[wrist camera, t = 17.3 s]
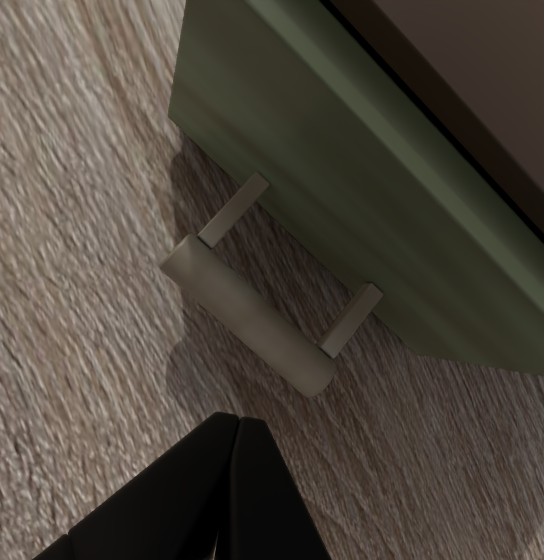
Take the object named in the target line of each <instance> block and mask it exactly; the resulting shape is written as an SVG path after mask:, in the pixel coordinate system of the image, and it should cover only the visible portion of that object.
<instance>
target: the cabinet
mask: <svg viewBox="0 0 544 560" xmlns="http://www.w3.org/2000/svg"><path fill="white" fill-rule="evenodd" d="M330 2H331V3H332V4H333V5H334V6H335V7H336V8H337V9H338V10H339V11H340V12H341V14H342V15H343V16H344V17H345V18H346V19H347V20H348V21H349V22H350V23H351V24H352V26H353V27H354V28H355V29H356V30H357V31H358V32H359V33H360V34H361V35H362V36H363V38H364V39H365V40H366V41H367V42H368V43H369V44H370V45H371V46H372V47H373V48H374V50H375V51H376V52H377V53H378V54H379V55H380V56H381V57H382V58H383V59H384V60H385V62H386V63H387V64H388V65H389V66H390V67H391V68H392V69H393V70H394V71H395V72H396V74H397V75H398V76H399V77H400V78H401V79H402V80H403V81H404V82H405V83H406V84H407V86H408V87H409V88H410V89H411V90H412V91H413V92H414V93H415V94H416V95H417V96H418V97H419V99H420V100H421V101H422V102H423V103H424V104H425V105H426V106H427V107H428V108H429V109H430V111H431V112H432V113H433V114H434V115H435V116H436V117H437V118H438V119H439V120H440V121H441V123H442V124H443V125H444V126H445V127H446V128H447V129H448V130H449V131H450V132H451V133H452V135H453V136H454V137H455V138H456V139H457V140H458V141H459V142H460V143H461V144H462V145H463V147H464V148H465V149H466V150H467V151H468V152H469V153H470V154H471V155H472V156H473V157H474V159H475V160H476V161H477V162H478V163H479V164H480V165H481V166H482V167H483V168H484V169H485V171H486V172H487V173H488V174H489V175H490V176H491V177H492V178H493V179H494V180H495V181H496V182H497V184H498V185H499V186H500V187H501V188H502V189H503V190H504V191H505V192H506V193H507V194H508V196H509V197H510V198H511V199H512V200H513V201H514V202H515V203H516V204H517V205H518V206H519V208H520V209H521V210H522V211H523V212H524V213H525V214H526V215H527V216H528V217H529V218H530V220H531V221H532V222H533V223H534V224H535V225H536V226H537V227H538V228H539V229H540V230H541V232H542V233H543V234H544V0H330Z"/></svg>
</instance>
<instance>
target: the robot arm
mask: <svg viewBox="0 0 544 560" xmlns="http://www.w3.org/2000/svg"><path fill="white" fill-rule="evenodd" d="M216 543H217V544H216ZM215 547H216V550H215ZM214 551H215V557H214V560H332V559H331V557H330V555H329V553H328V551H327V549H326V547H325V545H324V543H323V541H322V539H321V536H320V534H319V532H318V530H317V528H316V526H315V524H314V522H313V520H312V518H311V515H310V513H309V511H308V509H307V507H306V505H305V503H304V501H303V499H302V497H301V494H300V492H299V490H298V488H297V486H296V484H295V482H294V480H293V478H292V476H291V474H290V471H289V469H288V467H287V465H286V463H285V461H284V459H283V457H282V455H281V453H280V450H279V448H278V446H277V444H276V442H275V440H274V438H273V436H272V434H271V432H270V430H269V427H268V425H267V423H266V422H265V421H264V420H262V419H257V418H251V417H245V416H244V417H242V418H241V419H240V421H239V417H238V416H237V415H234V414H229V413H223V412H215V413H213V414H212V415H211V416H209V417H208V418H207V419H206V420H204V421H203V422H202V423H201V424H200V425H198V426H197V427H196V428H195V429H193V430H192V431H191V432H190V433H188V434H187V435H186V436H185V437H183V438H182V439H181V440H180V441H179V442H177V443H176V444H175V445H174V446H172V447H171V448H170V449H169V450H167V451H166V452H165V453H164V454H163V455H161V456H160V457H159V458H158V459H156V460H155V461H154V462H153V463H151V464H150V465H149V466H148V467H147V468H145V469H144V470H143V471H142V472H140V473H139V474H138V475H137V476H135V477H134V478H133V479H132V480H130V481H129V482H128V483H127V484H126V485H124V486H123V487H122V488H121V489H119V490H118V491H117V492H116V493H114V494H113V495H112V496H111V497H110V498H108V499H107V500H106V501H105V502H103V503H102V504H101V505H100V506H98V507H97V508H96V509H95V510H94V511H92V512H91V513H90V514H89V515H87V516H86V517H85V518H84V519H82V520H81V521H80V522H79V523H77V524H76V525H75V526H74V527H73V528H71V529H70V530H69V532H68V535H67V534H64V535H62V536H61V537H60V538H59V539H57V540H56V541H55V542H54V543H52V544H51V545H50V546H49V547H48V548H46V549H45V550H44V551H43V552H41V553H40V554H39V555H37V556H36V557H35V558H34V559H32V560H213V556H214Z"/></svg>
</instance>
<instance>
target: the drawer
mask: <svg viewBox="0 0 544 560" xmlns="http://www.w3.org/2000/svg"><path fill="white" fill-rule="evenodd" d="M168 117H169V118H170V119H171V120H172V121H173V122H174V123H175V124H176V125H177V126H178V127H179V128H180V129H181V130H182V131H183V132H184V133H185V134H186V135H187V136H188V137H189V138H191V139H192V140H193V141H194V142H195V143H196V144H197V145H198V146H199V147H200V148H201V149H202V150H203V151H204V152H205V153H206V154H207V155H208V156H209V157H210V158H211V159H213V160H214V161H215V162H216V163H217V164H218V165H219V166H220V167H221V168H222V169H223V170H224V171H225V172H226V173H227V174H228V175H229V176H230V177H231V178H232V179H234V180H235V181H236V182H237V183H238V184H239V185H240V186H241V188H240V189H239V190H238V191H237V192H236V193H235V195H234V196H233V197H232V198H231V199H230V200H229V201H228V202H227V203H226V204H225V205H224V206H223V207H222V209H221V210H220V211H219V212H218V213H217V214H216V215H215V216H214V217H213V218H212V219H211V220H210V222H209V223H208V224H207V225H206V226H205V227H204V228H203V229H202V230H201V231H200V232H199V233H198V235H197V236H195V235H194V234H193V233H189V234H188V235H187V236H186V237H185V238H184V239H183V240H182V241H181V242H180V243H179V244H178V245H177V246H176V247H175V248H174V249H173V250H172V251H171V253H170V254H169V255H168V256H167V257H166V258H165V259H164V260H163V261H162V263H161V264H160V266H159V268H160V270H162V271H163V272H164V273H165V274H166V275H167V276H168V277H169V278H171V279H172V280H173V281H174V282H175V283H176V284H177V285H179V286H180V287H181V288H182V289H183V290H184V291H185V292H187V293H188V294H189V295H190V296H191V297H192V298H193V299H194V300H196V301H197V302H198V303H199V304H200V305H201V306H202V307H204V308H205V309H206V310H207V311H208V312H209V313H210V314H212V315H213V316H214V317H215V318H216V319H217V320H218V321H219V322H221V323H222V324H223V325H224V326H225V327H226V328H227V329H229V330H230V331H231V332H232V333H233V334H234V335H235V336H237V337H238V338H239V339H240V340H241V341H242V342H243V343H244V344H246V345H247V346H248V347H249V348H250V349H251V350H252V351H254V352H255V353H256V354H257V355H258V356H259V357H260V358H261V359H263V360H264V361H265V362H266V363H267V364H268V365H269V366H271V367H272V368H273V369H274V370H275V371H276V372H277V373H279V374H280V375H281V376H282V377H283V378H284V379H285V380H286V381H288V382H289V383H290V384H291V385H292V386H293V387H294V388H296V389H297V390H298V391H299V392H300V393H301V394H302V395H304V396H305V397H307V398H312V397H314V396H316V395H318V394H319V393H320V392H322V391H323V390H324V389H325V388H326V387H327V386H328V384H329V383H330V382H331V380H332V379H333V377H334V375H335V372H336V364H335V362H334V361H333V360H331V359H330V358H332V359H334V358H335V357H336V356H337V354H338V353H339V352H340V351H341V349H342V348H343V347H344V345H345V344H346V343H347V342H348V340H349V339H350V338H351V336H352V335H353V334H354V333H355V331H356V330H357V329H358V327H359V326H360V325H361V324H362V322H363V321H364V320H365V318H366V317H367V316H368V315H369V313H370V312H371V311H372V312H373V313H374V314H375V315H376V316H377V317H378V318H379V319H380V320H381V321H382V322H383V323H384V324H385V325H387V326H388V327H389V328H390V329H391V330H392V331H393V332H394V333H395V334H396V335H397V336H398V337H399V338H400V339H401V340H402V341H403V342H404V343H405V344H406V345H407V346H409V347H410V348H411V349H412V350H413V351H414V352H415V353H416V354H417V355H422V356H428V357H434V358H440V359H446V360H452V361H458V362H464V363H469V364H475V365H481V366H487V367H493V368H499V369H505V370H511V371H516V372H522V373H528V374H534V375H540V376H544V234H543V233H542V232H541V230H540V229H539V228H538V227H537V226H536V225H535V224H534V223H533V222H532V221H531V220H530V218H529V217H528V216H527V215H526V214H525V213H524V212H523V211H522V210H521V209H520V208H519V206H518V205H517V204H516V203H515V202H514V201H513V200H512V199H511V198H510V197H509V196H508V194H507V193H506V192H505V191H504V190H503V189H502V188H501V187H500V186H499V185H498V184H497V182H496V181H495V180H494V179H493V178H492V177H491V176H490V175H489V174H488V173H487V172H486V171H485V169H484V168H483V167H482V166H481V165H480V164H479V163H478V162H477V161H476V160H475V159H474V157H473V156H472V155H471V154H470V153H469V152H468V151H467V150H466V149H465V148H464V147H463V145H462V144H461V143H460V142H459V141H458V140H457V139H456V138H455V137H454V136H453V135H452V133H451V132H450V131H449V130H448V129H447V128H446V127H445V126H444V125H443V124H442V123H441V121H440V120H439V119H438V118H437V117H436V116H435V115H434V114H433V113H432V112H431V111H430V109H429V108H428V107H427V106H426V105H425V104H424V103H423V102H422V101H421V100H420V99H419V97H418V96H417V95H416V94H415V93H414V92H413V91H412V90H411V89H410V88H409V87H408V86H407V84H406V83H405V82H404V81H403V80H402V79H401V78H400V77H399V76H398V75H397V74H396V72H395V71H394V70H393V69H392V68H391V67H390V66H389V65H388V64H387V63H386V62H385V60H384V59H383V58H382V57H381V56H380V55H379V54H378V53H377V52H376V51H375V50H374V48H373V47H372V46H371V45H370V44H369V43H368V42H367V41H366V40H365V39H364V38H363V36H362V35H361V34H360V33H359V32H358V31H357V30H356V29H355V28H354V27H353V26H352V24H351V23H350V22H349V21H348V20H347V19H346V18H345V17H344V16H343V15H342V14H341V12H340V11H339V10H338V9H337V8H336V7H335V6H334V5H333V4H332V3H331V2H330V0H186V4H185V11H184V17H183V23H182V29H181V35H180V42H179V48H178V54H177V60H176V67H175V73H174V79H173V85H172V91H171V98H170V104H169V110H168ZM256 201H257V202H258V203H259V204H260V205H261V206H262V207H263V208H264V209H265V210H266V211H267V212H268V213H269V214H270V215H271V216H272V217H273V218H274V219H275V220H276V221H278V222H279V223H280V224H281V225H282V226H283V227H284V228H285V229H286V230H287V231H288V232H289V233H290V234H291V235H292V236H293V237H294V238H295V239H296V240H297V241H298V242H300V243H301V244H302V245H303V246H304V247H305V248H306V249H307V250H308V251H309V252H310V253H311V254H312V255H313V256H314V257H315V258H316V259H317V260H318V261H319V262H320V263H322V264H323V265H324V266H325V267H326V268H327V269H328V270H329V271H330V272H331V273H332V274H333V275H334V276H335V277H336V278H337V279H338V280H339V281H340V282H341V283H342V284H344V285H345V286H346V287H347V288H348V289H349V290H350V291H351V292H352V293H353V294H354V297H353V298H352V299H351V301H350V302H349V303H348V304H347V306H346V307H345V308H344V309H343V311H342V312H341V313H340V314H339V316H338V317H337V318H336V319H335V321H334V322H333V323H332V324H331V326H330V327H329V328H328V329H327V331H326V332H325V333H324V334H323V336H322V337H321V338H320V340H319V341H318V342H317V343H316V345H315V344H314V343H313V342H312V341H311V340H310V339H308V338H307V337H306V336H305V335H304V334H303V333H302V332H301V331H300V330H299V329H297V328H296V327H295V326H294V325H293V324H292V323H291V322H290V321H289V320H288V319H286V318H285V317H284V316H283V315H282V314H281V313H280V312H279V311H278V310H277V309H275V308H274V307H273V306H272V305H271V304H270V303H269V302H268V301H267V300H266V299H264V298H263V297H262V296H261V295H260V294H259V293H258V292H257V291H256V290H255V289H254V288H252V287H251V286H250V285H249V284H248V283H247V282H246V281H245V280H244V279H243V278H241V277H240V276H239V275H238V274H237V273H236V272H235V271H234V270H233V269H232V268H230V267H229V266H228V265H227V264H226V263H225V262H224V261H223V260H222V259H221V258H219V257H218V256H217V255H216V254H215V253H214V252H213V251H212V250H211V249H213V248H214V247H215V246H216V245H217V244H218V243H219V241H220V240H221V239H222V238H223V237H224V236H225V235H226V234H227V233H228V232H229V230H230V229H231V228H232V227H233V226H234V225H235V224H236V223H237V222H238V221H239V219H240V218H241V217H242V216H243V215H244V214H245V213H246V212H247V211H248V210H249V208H250V207H251V206H252V205H253V204H254V203H255V202H256Z"/></svg>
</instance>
